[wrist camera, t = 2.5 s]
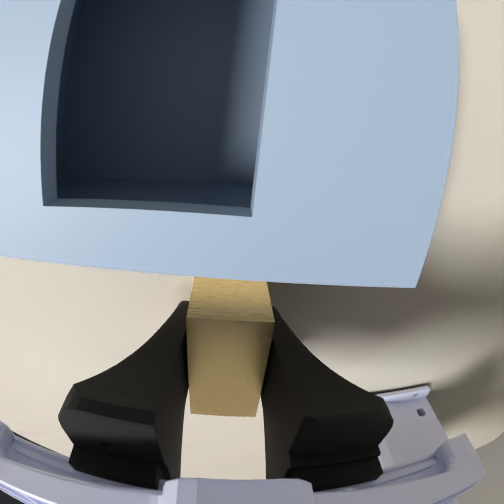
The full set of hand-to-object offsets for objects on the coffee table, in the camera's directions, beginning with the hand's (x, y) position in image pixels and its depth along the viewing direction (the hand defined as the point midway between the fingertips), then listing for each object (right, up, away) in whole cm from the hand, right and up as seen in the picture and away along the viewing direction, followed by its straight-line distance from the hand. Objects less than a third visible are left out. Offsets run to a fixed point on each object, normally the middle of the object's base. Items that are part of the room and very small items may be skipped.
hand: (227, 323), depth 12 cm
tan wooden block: (0, +1, +1) cm, 1 cm away
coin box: (-1, +10, -3) cm, 10 cm away
